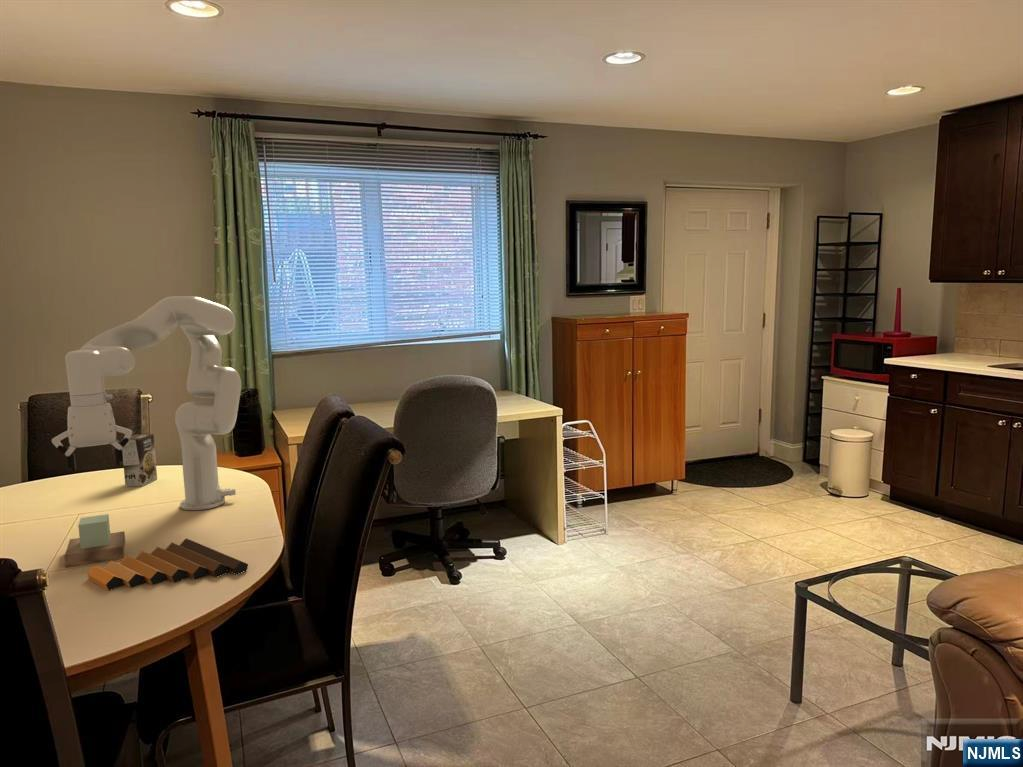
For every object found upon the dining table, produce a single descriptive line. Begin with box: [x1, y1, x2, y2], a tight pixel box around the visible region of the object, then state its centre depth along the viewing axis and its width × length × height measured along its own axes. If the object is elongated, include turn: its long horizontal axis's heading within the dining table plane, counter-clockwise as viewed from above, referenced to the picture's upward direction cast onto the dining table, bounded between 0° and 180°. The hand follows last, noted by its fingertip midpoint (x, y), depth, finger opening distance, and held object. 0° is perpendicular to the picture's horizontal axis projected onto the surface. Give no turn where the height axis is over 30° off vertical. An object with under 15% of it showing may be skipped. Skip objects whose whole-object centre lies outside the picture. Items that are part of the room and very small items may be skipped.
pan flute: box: [86, 538, 249, 591], centre depth 160 cm, size 25×3×25 cm
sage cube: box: [78, 513, 111, 549], centre depth 173 cm, size 6×6×6 cm
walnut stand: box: [64, 531, 126, 568], centre depth 173 cm, size 12×12×3 cm
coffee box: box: [121, 433, 158, 488], centre depth 236 cm, size 9×6×16 cm
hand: (96, 467), depth 175 cm, fingers open, 9 cm apart
